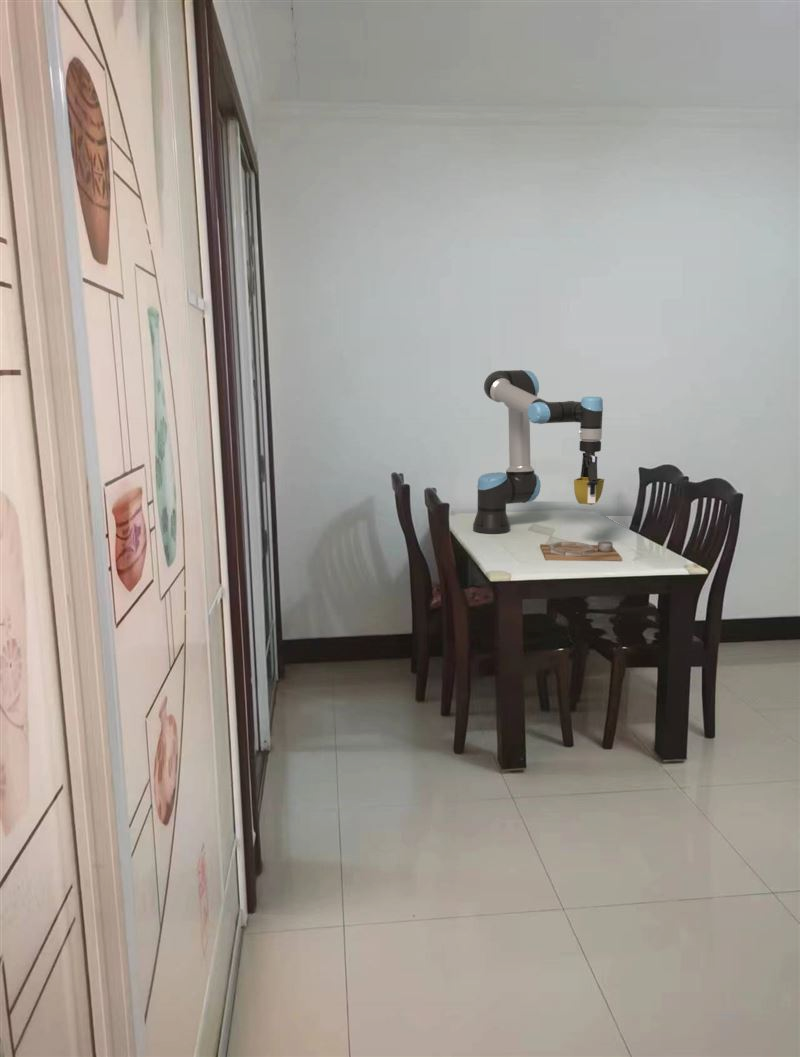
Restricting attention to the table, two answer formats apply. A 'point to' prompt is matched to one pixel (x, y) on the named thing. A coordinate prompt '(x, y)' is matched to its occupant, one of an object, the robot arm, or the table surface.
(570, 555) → the carrier board
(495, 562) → the table surface
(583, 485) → the flower pot
